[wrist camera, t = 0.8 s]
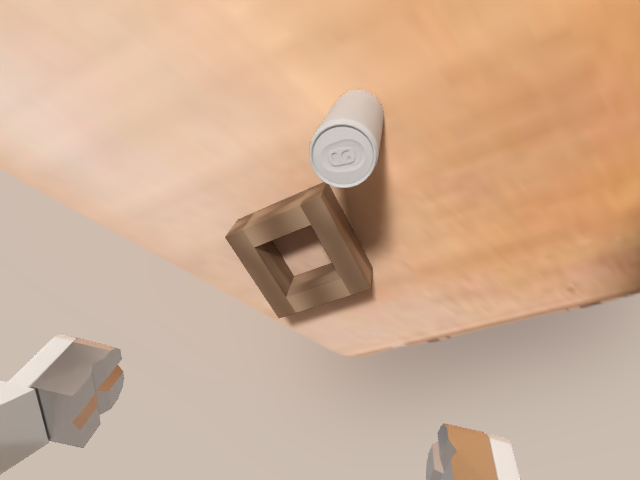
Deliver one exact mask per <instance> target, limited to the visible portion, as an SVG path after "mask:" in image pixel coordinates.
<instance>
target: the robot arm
mask: <svg viewBox="0 0 640 480" xmlns="http://www.w3.org/2000/svg"><path fill="white" fill-rule="evenodd" d="M121 359H122V357H121V351H120V349H118V348H115V347H111V346H107V345H103V344H99V343H96V342H92V341H88V340H84V339H80V338H76V337H72V336H68V335H63V334H60V335H57V336H55V337H54V338H52V339H51V340H50V341H49V342H48V343H47V344H46V345H45V346H44V347H43V348H42V349H41V350H40V351H39V352H38V353H37V354H36V355H35V356H34V357H33V358H32V359H31V360H30V361H29V362H28V363H27V364H26V365H25V366H24V367H22V368H21V370H19V371H18V372H17V373H16V374H15V375H14V376H13V377H12V378H11V379H10V380H9V381H8V382H4V381H0V474H2V473H3V472H5V471H6V470H8V469H9V468H11V467H12V466H14V465H16V464H17V463H19V462H20V461H22V460H23V459H25V458H26V457H28V456H29V455H31V454H33V453H34V452H36V451H37V450H38V449H40V448H42V447H43V446H45V445H46V444H48V443H49V441H53V442H58V443H62V444H67V445H72V446H76V447H81V448H84V446H85V445H86V443H87V442H88V441H89V439H90V438H91V437H92V435H93V434H94V432H95V431H96V429H97V428H98V427H99V425H100V414H102V413H104V412H106V411H108V410H109V409H111V408H112V406H113V405H114V404H115V402H116V401H117V399H118V397H119V394H120V392H121V390H122V387H123V380H124V375H123V371H122V369H121V368H120V367H119V366H118V365H117V364H118V363H119V362H120V361H121ZM426 480H521V479H520V476H519V472H518V469H517V464H516V461H515V457H514V453H513V449H512V446H511V442H510V441H509V440H508V438H505V437H501V436H496V435H492V434H487V433H484V432H481V431H476V430H471V429H467V428H462V427H458V426H453V425H449V424H443V425H442V426H441V427H440V429H439V431H438V442H437V443H435V444H433V445H432V447H431V449H430V452H429V455H428V460H427V469H426Z"/></svg>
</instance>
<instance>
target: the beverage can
mask: <svg viewBox="0 0 640 480" xmlns="http://www.w3.org/2000/svg"><path fill="white" fill-rule="evenodd" d="M383 122H384V111H383V108H382V105H381V103H380V102H379V100H378V98H376V97H375V96H374V95H373V94H372V93H370V92H368V91H366V90H360V89H356V90H351V91H348V92H346V93H344V94H343V95H342V96H341V97H339V98H338V100H337V101H336V102H335V103H334V105H333V106H332V108H331V110H330V111H329V113H328V114H327V116H326V117H325V119H324V120H323V122H322V123H321V124H320V126H319V127H318V129H317V130H316V132H315V134H314V136H313V138H312V140H311V143H310V150H309V156H310V163H311V166H312V168H313V170H314V172H315V173H316V175H317V176H318V177H319V178H320V179H321V180H322V181H324V182H325V183H327V184H329V185H331V186H333V187H338V188H350V187H353V186H356V185H359V184H360V183H362V182H364V181H365V180H366V179H367V178H368V177H369V176H370V174H371V173H372V172H373V170H374V168H375V167H376V165H377V161H378V156H379V150H380V143H381V136H382V129H383Z"/></svg>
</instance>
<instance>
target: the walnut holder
mask: <svg viewBox="0 0 640 480" xmlns="http://www.w3.org/2000/svg"><path fill="white" fill-rule="evenodd" d="M309 225H311V226H312V228H313V229H314V231H315V233H316V235H317V236H318V238H319V240H320V242H321V243H322V245H323V247H324V249H325V251H326V252H327V254H328V256H329V258H330V259H331V261H332V263H330V264H328V265H325V266H322V267H319V268H317V269H314V270H311V271H308V272H305V273H303V274H300V275H297V276H293V274H292V272H291V271H290V269H289V267H288V266H287V264H286V263H285V261H284V259H283V258H282V256H281V255H280V253H279V251H278V250H277V248H276V246H275V245H274V243H273V242H272V240H274V239H277V238H279V237H282V236H284V235H287V234H289V233H292V232H294V231H297V230H299V229H302V228H304V227H307V226H309ZM225 238H226V239H227V241H228V242H229V244H230V245H231V247H232V248H233V250H234V251H235V253H236V254H237V256H238V257H239V259H240V261H241V262H242V264H243V265H244V267H245V268H246V270H247V271H248V273H249V274H250V276H251V277H252V279H253V280H254V282H255V283H256V285H257V286H258V288H259V289H260V291H261V292H262V294H263V295H264V297H265V298H266V300H267V301H268V303H269V304H270V306H271V307H272V309H273V310H274V312H275V313H276V315H277V316H278V318H281V317H285V316H288V315H291V314H294V313H297V312H300V311H303V310H306V309H309V308H312V307H316V306H319V305H322V304H325V303H328V302H331V301H334V300H337V299H340V298H343V297H347V296H350V295H353V294H356V293H359V292H362V291H365V290H368V289H370V287H371V277H372V266H371V264H370V262H369V260H368V258H367V256H366V254H365V252H364V250H363V249H362V247H361V245H360V243H359V241H358V239H357V237H356V235H355V233H354V231H353V229H352V228H351V226H350V224H349V222H348V220H347V218H346V216H345V214H344V212H343V210H342V209H341V207H340V205H339V203H338V201H337V199H336V197H335V195H334V193H333V191H332V190H331V188H330V186H329V184H327V183H325V182H323V183H321V184H319V185H316V186H314V187H312V188H310V189H307V190H305V191H303V192H300V193H298V194H296V195H294V196H291V197H289V198H287V199H284V200H282V201H280V202H277V203H275V204H273V205H271V206H268V207H266V208H264V209H261V210H259V211H257V212H254V213H252V214H250V215H248V216H245V217H243V218H241V219H238V220H237V222H236V223H235V224H234V226H233V227H232V228H231V230H230V231H229V233H228V234H227V235H226V237H225Z"/></svg>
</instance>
